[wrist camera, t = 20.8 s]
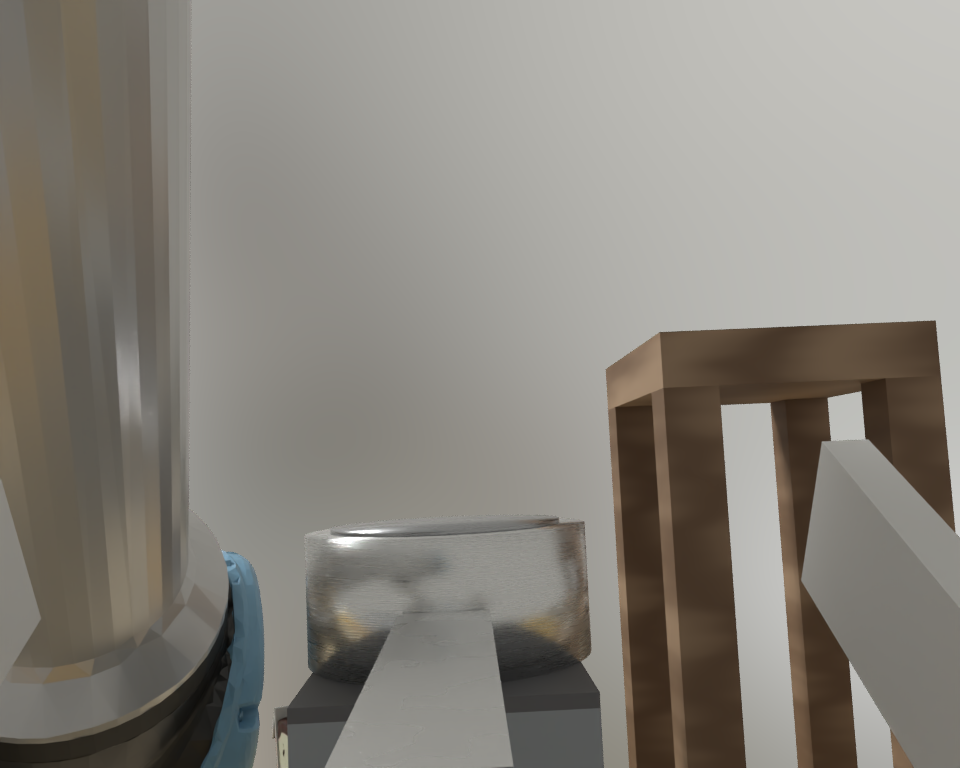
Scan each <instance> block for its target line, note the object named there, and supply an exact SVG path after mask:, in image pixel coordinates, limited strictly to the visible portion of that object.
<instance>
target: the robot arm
mask: <svg viewBox="0 0 960 768" xmlns="http://www.w3.org/2000/svg"><path fill="white" fill-rule="evenodd" d="M190 160H191V0H0V768H252V767H253V763H254V758H255V754H256V748H257V743H258V735H259V726H260V723H259V712H258V706H259V703H260V701H261V698H262V690H263V681H264V626H263V613H262V604H261V598H260V590H259V585H258V580H257V577H256V574H255V571H254V568H253V567H252V565H251V564H250V562H249V561H248V560H247V559H246V558H244V557H243V556H241V555H238V554H237V553H234V552H224V551H223V550H221V549H220V546H219V543H218V541H217V539H216V537H215V536H214V534H213V533H212V532H211V530H210V529H209V527H208V526H207V524H205V523H204V522H203V521H202V519H200V518H199V516H198V515H196V514H195V513H194V512H193V511H192V510H190V509H189V370H190V369H189V365H190V360H189V359H190V356H189V355H190V173H191V171H190V170H191V163H190V162H191V161H190ZM801 581H802V583H803V584H804V586H805V588H806V589H807V591H808V593H809V594H810V596H811V598H812V599H813V601H814V603H815V604H816V606H817V608H818V609H819V611H820V613H821V614H822V616H823V618H824V619H825V621H826V623H827V624H828V626H829V628H830V629H831V631H832V633H833V634H834V636H835V638H836V639H837V641H838V643H839V644H840V646H841V648H842V649H843V651H844V652H845V654H846V656H847V657H848V659H849V661H850V662H851V664H852V666H853V667H854V669H855V671H856V672H857V674H858V675H859V677H860V679H861V681H862V682H863V684H864V685H865V687H866V689H867V691H868V692H869V694H870V696H871V697H872V699H873V701H874V702H875V704H876V705H877V707H878V709H879V711H880V712H881V714H882V716H883V717H884V719H885V720H886V722H887V724H888V725H889V727H890V729H891V730H892V732H893V734H894V735H895V737H896V739H897V740H898V742H899V744H900V745H901V747H902V749H903V750H904V752H905V754H906V755H907V757H908V759H909V760H910V762H911V764H912V765H913V767H914V768H960V537H959V536H958V535H957V534H956V533H955V532H954V531H953V530H952V529H951V528H950V527H949V526H948V524H947V523H946V522H945V521H944V520H943V519H942V518H941V517H940V516H939V515H938V514H937V513H936V512H935V510H934V509H933V508H932V507H931V506H930V505H929V504H928V503H927V502H926V501H925V500H924V499H923V498H922V496H921V495H920V494H919V493H918V492H917V491H916V490H915V489H914V488H913V487H912V486H911V485H910V484H909V483H908V481H907V480H906V479H905V478H904V477H903V476H902V475H901V474H900V473H899V472H898V471H897V470H896V469H895V467H894V466H893V465H892V464H891V463H890V462H889V461H888V460H887V459H886V458H885V457H884V456H883V455H882V453H881V452H880V451H879V450H878V449H877V448H876V447H875V446H874V445H873V444H872V443H871V442H870V441H869V439H866V440H845V441H822V444H821V451H820V457H819V464H818V471H817V478H816V484H815V491H814V498H813V504H812V511H811V518H810V524H809V531H808V538H807V544H806V551H805V558H804V564H803V571H802V578H801Z"/></svg>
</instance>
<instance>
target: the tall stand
mask: <svg viewBox="0 0 960 768" xmlns="http://www.w3.org/2000/svg"><path fill="white" fill-rule="evenodd" d="M606 380H607V397H608V414H609V430H610V447H611V464H612V481H613V497H614V514H615V515H614V516H615V532H616V550H617V566H618V584H619V600H620V617H621V633H622V634H621V635H622V652H623V667H624V686H625V702H626V719H627V736H628V752H629V768H746V760H745V759H746V758H745V745H744V730H743V717H742V702H741V688H740V673H739V659H738V645H737V631H736V618H735V603H734V588H733V574H732V560H731V546H730V532H729V518H728V504H727V490H726V476H725V461H724V448H723V434H722V419H721V405H731V404H753V403H771V416H772V429H773V441H774V455H775V469H776V482H777V495H778V507H779V521H780V535H781V548H782V561H783V573H784V587H785V601H786V613H787V627H788V639H789V653H790V665H791V679H792V692H793V706H794V719H795V732H796V745H797V759H798V768H858V767H857V754H856V742H855V730H854V718H853V705H852V693H851V681H850V668H849V659H848V657H847V656H846V654H845V652H844V651H843V649H842V648H841V646H840V644H839V643H838V641H837V639H836V638H835V636H834V634H833V633H832V631H831V629H830V628H829V626H828V624H827V623H826V621H825V619H824V618H823V616H822V614H821V613H820V611H819V609H818V608H817V606H816V604H815V603H814V601H813V599H812V598H811V596H810V594H809V593H808V591H807V589H806V588H805V586H804V584H803V583H802V581H801V578H802V571H803V564H804V558H805V551H806V544H807V538H808V531H809V524H810V518H811V511H812V504H813V498H814V491H815V484H816V478H817V471H818V464H819V457H820V451H821V444H822V441H831V436H830V424H829V412H828V400H827V398H828V397H833V396H838V395H844V394H849V393H854V392H859V391H861V392H862V403H863V415H864V425H865V426H864V427H865V437H866V439H869V441H870V442H871V443H872V444H873V445H874V446H875V447H876V448H877V449H878V450H879V451H880V452H881V453H882V455H883V456H884V457H885V458H886V459H887V460H888V461H889V462H890V463H891V464H892V465H893V466H894V467H895V469H896V470H897V471H898V472H899V473H900V474H901V475H902V476H903V477H904V478H905V479H906V480H907V481H908V483H909V484H910V485H911V486H912V487H913V488H914V489H915V490H916V491H917V492H918V493H919V494H920V495H921V496H922V498H923V499H924V500H925V501H926V502H927V503H928V504H929V505H930V506H931V507H932V508H933V509H934V510H935V512H936V513H937V514H938V515H939V516H940V517H941V518H942V519H943V520H944V521H945V522H946V523H947V524H948V526H949V527H950V528H951V529H952V530H953V531H954V532H955V523H954V512H953V502H952V491H951V480H950V470H949V459H948V449H947V438H946V427H945V416H944V406H943V395H942V385H941V374H940V363H939V352H938V342H937V331H936V321H916V322H892V323H867V324H847V325H846V324H845V325H820V326H797V327H773V328H750V329H749V328H748V329H726V330H701V331H677V332H659V333H658V334H657V335H655V336H654V337H652V338H651V339H649V340H648V341H646V342H645V343H643V344H642V345H641V346H639V347H638V348H636V349H635V350H633V351H632V352H630V353H629V354H627V355H626V356H624V357H623V358H622V359H620V360H619V361H617V362H616V363H614V364H613V365H611V366H610V367H608V368H607V369H606ZM890 731H891V742H892V754H893V766H894V768H914V767H913V765H912V764H911V762H910V760H909V759H908V757H907V755H906V754H905V752H904V750H903V749H902V747H901V745H900V744H899V742H898V740H897V739H896V737H895V735H894V734H893V732H892V730H891V729H890Z"/></svg>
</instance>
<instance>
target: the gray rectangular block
mask: <svg viewBox="0 0 960 768" xmlns="http://www.w3.org/2000/svg"><path fill="white" fill-rule="evenodd" d="M363 687H364V685H358V684H350V683H344V682H339V681H334V680H330V679H327V678H324V677H321V676H319V675H317V674H315V673H312V675H311V676H310V677H309V679H308V680H307V681H306V683H305V684H304V686H303V687H302V688H301V690H300V691H299V692H298V694H297V695H296V697H295V698H294V699H293V701H292V702H291V704H290V705H289V706H288V708H287V732H288V768H325V766H326V764H327V762H328V759H329V757H330V755H331V753H332V751H333V749H334V747H335V745H336V743H337V741H338V739H339V737H340V735H341V732H342V730H343V728H344V726H345V724H346V722H347V720H348V718H349V716H350V714H351V712H352V710H353V708H354V705H355V703H356V701H357V699H358V697H359V695H360V693H361V691H362V689H363ZM501 687H502V693H503V700H504V707H505V713H506V720H507V726H508V733H509V740H510V746H511V753H512V759H513V766H514V768H604V762H603V744H602V727H601V710H600V692H599V690H598V689H597V687H596V686H595V684H594V682H593V681H592V679H591V677H590V676H589V674H588V673H587V671H586V669H585V668H584V666H583V665H582V663H581V662H579V663H577V664H575V665H572V666H570V667H567V668H564V669H561V670H558V671H554V672H551V673H547V674H543V675H538V676H533V677H529V678H523V679H517V680H511V681H504V682H501Z"/></svg>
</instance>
